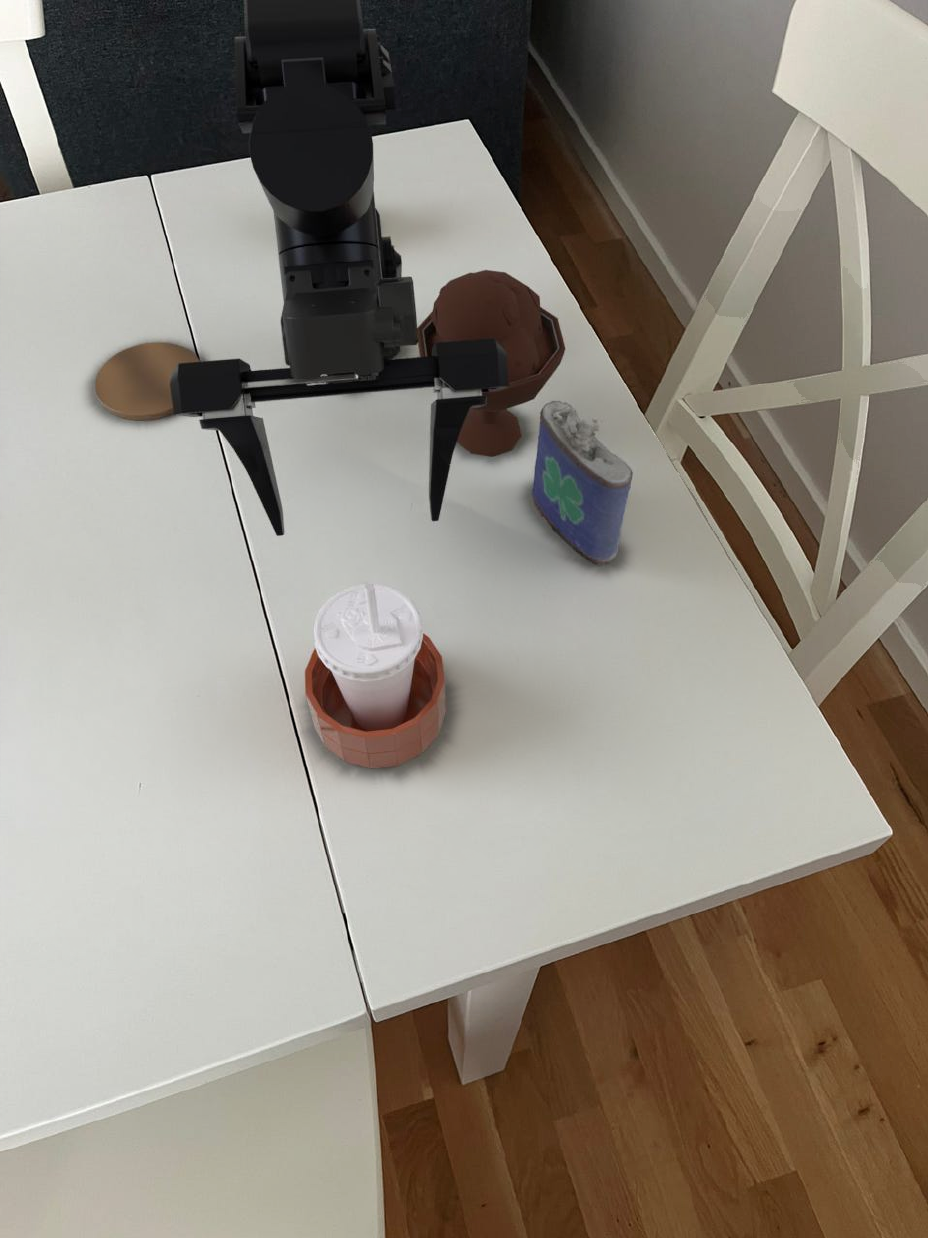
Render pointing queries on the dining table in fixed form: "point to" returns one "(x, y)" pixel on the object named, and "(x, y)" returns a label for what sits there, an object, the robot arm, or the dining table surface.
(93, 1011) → the dining table surface
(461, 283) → the ice cream bowl
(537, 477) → the flask
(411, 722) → the bowl
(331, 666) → the smoothie
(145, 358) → the coaster
